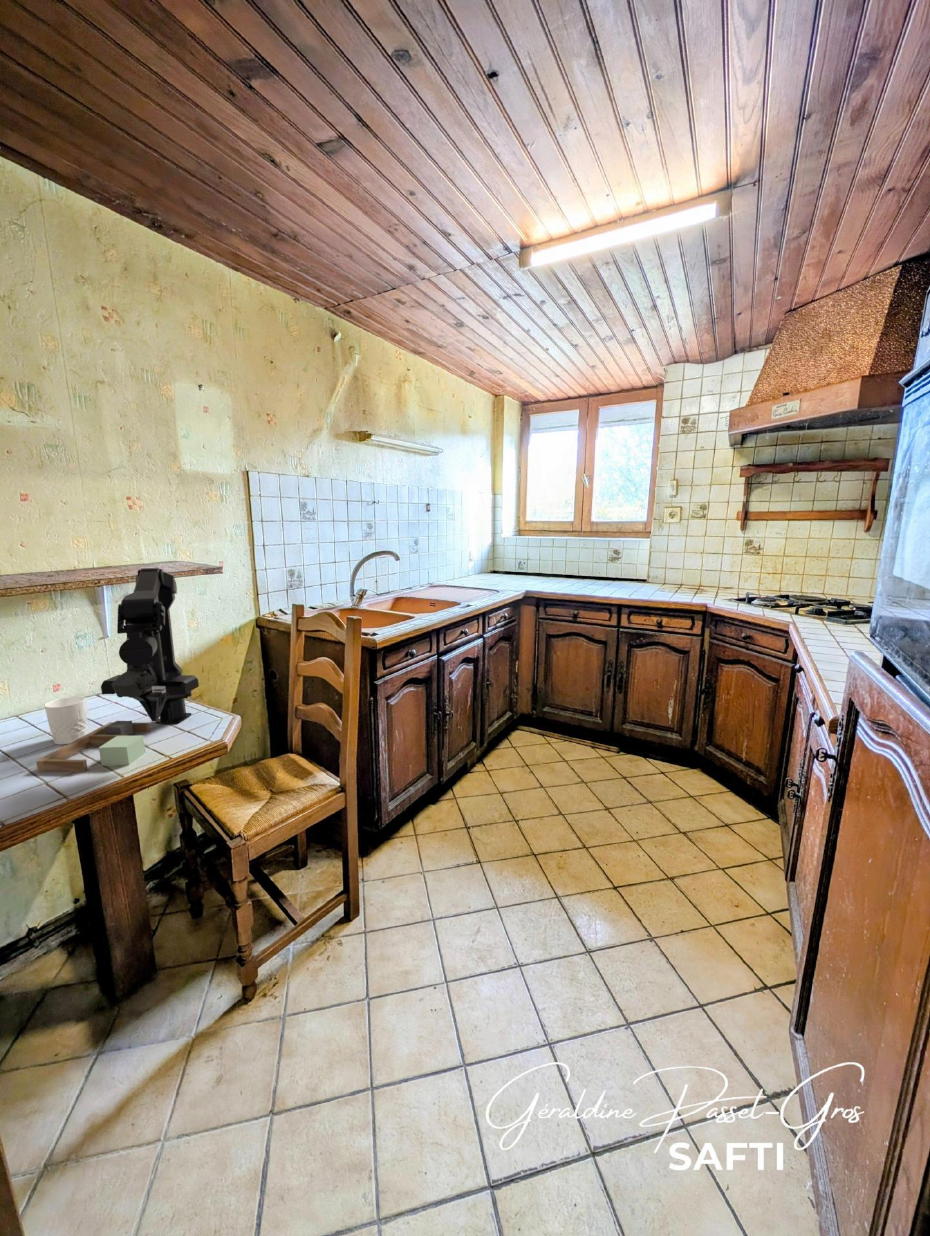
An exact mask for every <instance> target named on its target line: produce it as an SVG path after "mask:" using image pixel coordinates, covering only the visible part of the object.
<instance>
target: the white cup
mask: <svg viewBox="0 0 930 1236" xmlns="http://www.w3.org/2000/svg"><path fill="white" fill-rule="evenodd" d="M44 709H45V714H46V718H47V722H48V726H49V730H50V732H51V736H52V739H53V743H54V744H55V745H58V746H59V745H61V746H62V745H64V746H65V745H68V744H70V743H71V742H73V741H75V740H77V739H79V738H81V737H83V736H85V735H87V734H89V729H88V727H89V723H88V721H89V720H88V709H87V699H86V697H85V696H82V695H80V696H79V695H78V696H77V695H76V696H75V695H74V696H66V697H61V698H57V699H53V700H51V701H48V702H46V703H45V704H44Z"/></svg>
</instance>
